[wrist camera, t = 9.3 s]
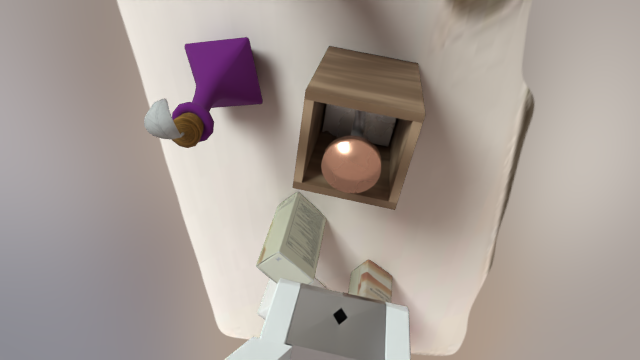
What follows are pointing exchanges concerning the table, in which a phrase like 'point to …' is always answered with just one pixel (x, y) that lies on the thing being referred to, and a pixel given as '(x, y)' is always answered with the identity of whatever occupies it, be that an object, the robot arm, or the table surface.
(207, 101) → the perfume bottle
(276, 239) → the skincare box
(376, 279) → the skincare box
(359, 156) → the table lamp
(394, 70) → the wooden box
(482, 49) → the table surface
